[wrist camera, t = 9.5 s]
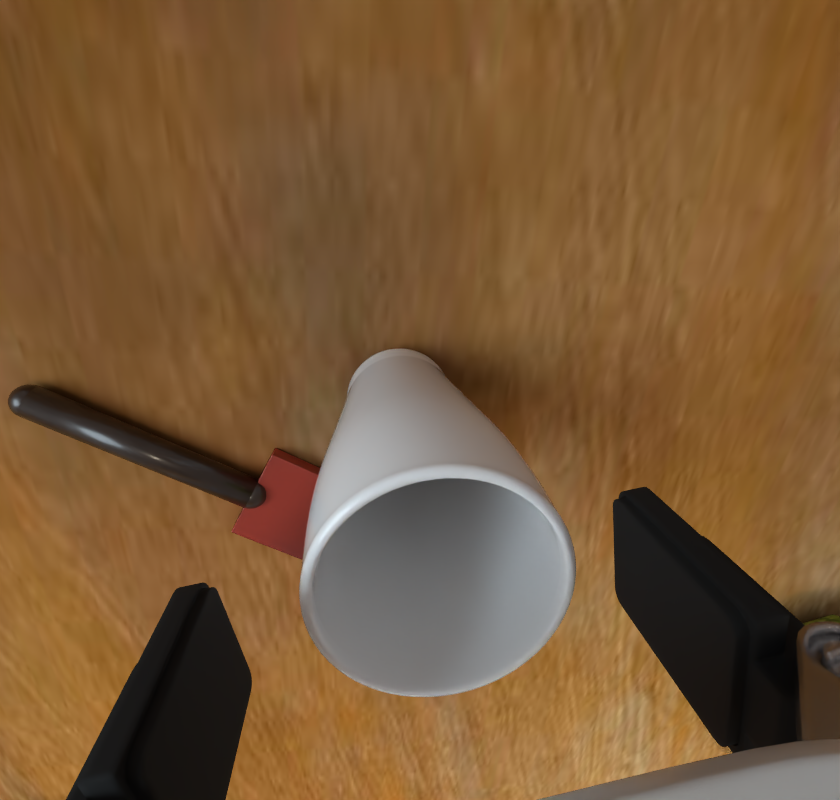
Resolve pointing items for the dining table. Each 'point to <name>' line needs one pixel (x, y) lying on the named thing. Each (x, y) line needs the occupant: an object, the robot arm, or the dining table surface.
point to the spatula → (190, 467)
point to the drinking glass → (428, 539)
